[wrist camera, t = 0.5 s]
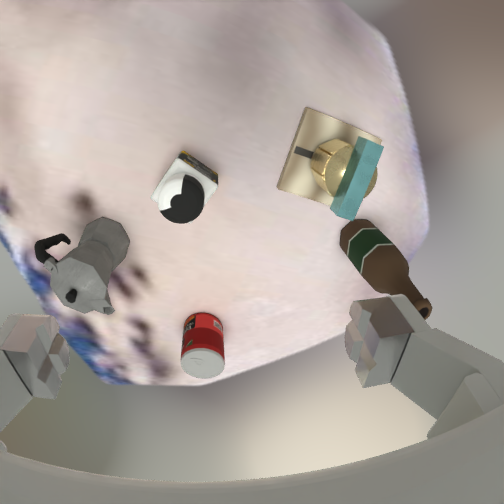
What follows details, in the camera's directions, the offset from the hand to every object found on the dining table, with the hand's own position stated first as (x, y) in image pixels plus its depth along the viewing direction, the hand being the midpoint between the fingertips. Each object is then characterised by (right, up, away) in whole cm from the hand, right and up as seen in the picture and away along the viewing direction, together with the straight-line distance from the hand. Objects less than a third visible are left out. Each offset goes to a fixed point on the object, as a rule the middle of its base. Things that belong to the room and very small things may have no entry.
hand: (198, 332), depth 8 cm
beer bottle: (+21, +5, +50) cm, 54 cm away
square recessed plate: (+14, +17, +42) cm, 48 cm away
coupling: (+15, +16, +40) cm, 45 cm away
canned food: (-9, -13, +56) cm, 58 cm away
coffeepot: (-25, +5, +44) cm, 51 cm away
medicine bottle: (-9, +14, +42) cm, 45 cm away
